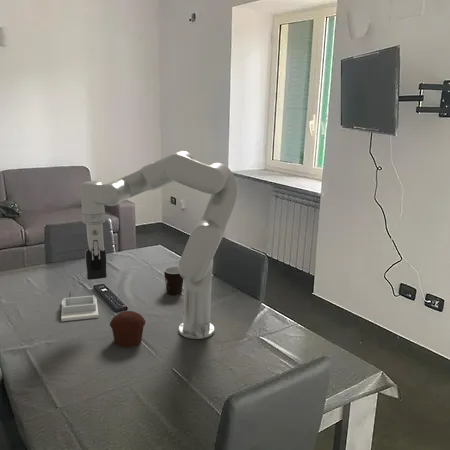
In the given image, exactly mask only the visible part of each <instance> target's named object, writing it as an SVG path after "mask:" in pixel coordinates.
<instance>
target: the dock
mask: <svg viewBox="0 0 450 450" xmlns="http://www.w3.org/2000/svg"><path fill="white" fill-rule="evenodd" d="M69 293H70V295H69V297H63V299H62V300H61V317H60V319H61V320H60V321H61V322H67V321H77V320H89V319H97V318H99V316H100V314H99V310H98V309H99V308H98V300H97V297H96V296H95V295H94V294H93V295H85V296H84V295H83V296H73V290H71V291H70V292H69Z"/></svg>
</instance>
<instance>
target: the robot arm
mask: <svg viewBox="0 0 450 450" xmlns="http://www.w3.org/2000/svg"><path fill="white" fill-rule="evenodd" d="M172 183H178V184H181V185H183V186H186V187H188V188H191V189H193V190H196V191H199V192H202V193H203V194H204V193H205V194H209V195H210V194H211V195H210V197H209V199H208V201H207V204H206V206H205V207H206V208H205V210H204V212H203V214H202V216H201V218H200V219H199V221H198V223H197V224H196V225H195V226H194V228H193V229H192V231H191V232H190V235H189V238H188V240H187V242H186V243H185V244H186V245H185V247H184V250H183V252H182V254H181V256H180V259H179V261H178V266H177V267H178V270H179V273H180V275H181V277H182V278H183V297H182V298H183V300H182V302H183V306H182V307H183V308H182V309H183V311H182V312H183V313H182V314H183V315H182V317H183V318H182V323H181V324H179V326H178V332H179V334H180V335H181V336H183V337H184V338H187V339H193V340H201V339H207V338H209V337H211V336H212V335H213V334H214V333H215V326H214V324H212V323H211V310H212V309H211V304H212V302H211V301H212V298H211V297H212V282H213V281H212V279H213V278H212V277H213V266H214V257H215V255H216V253H217V250H218V247H219V246H220V244H221V243H222V242H221V241H222V239H223V237H224V233H225V231H226V227H227V225H228V222H229V220H230V218H231V215H232V212H233V211H234V208H235V205H236V203H237V199H238V183H237V179H236V177H235V175H234V173H233V172H232V170H231V169H230V168H229V167H228V166H227V165H225V164H223V163H221V162H213V163H210V164H209V165H208V164H206V163H204V162H203V163H202V162H200V161H198V160H196V159H195V158H194V156H193V155H192V153H190V152H189V151H185V150H179V151H177V152H173V153H172V154H170V155H167V156H165V157H163V158H160V159H158V160H156V161H153V162H151V163H148V164H147V165H144V166H143V167H142V168H140V169H139V170H137V171H135V172H132V173H130V174H128V175H125V176H124V177H121V178H118V179H116V180H113V181H111V182H108V183H105V184H103V182H101V181H98V180H87V181H84V182H82V183H81V185H80V202H81V217H82V218H81V219H82V223H83V224H85V225H86V237H87V245H88V247H89V250H90V252H92V259H91V264H92V271H97V270H101V259H100V250H101V251H104V249H105V245H104V244H105V242H104V228H103V223H105V222H106V211H105V206H108V207H115V206H117V205H119V204H120V203H122V202H124V201H126V200H128V199H130V198H133V197H135V196H138V195H140V194H142V193H145V192H147V191H156V190H157V189H161V188H163V187H165V186H167V185H170V184H172ZM93 249H94V251H93ZM98 249H99V250H98ZM93 253H94V254H93Z"/></svg>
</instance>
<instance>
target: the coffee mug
mask: <svg viewBox="0 0 450 450" xmlns="http://www.w3.org/2000/svg"><path fill="white" fill-rule="evenodd" d="M163 273H164V274H163V275H164V282H165V290H166V295H168V296H179V295H181V294H182V293H183V287H184V279H183V278H182V277H181V275H180V273H179V270H178V266H168V267H165V268H164V269H163Z"/></svg>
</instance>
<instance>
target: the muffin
mask: <svg viewBox="0 0 450 450" xmlns="http://www.w3.org/2000/svg"><path fill="white" fill-rule="evenodd" d="M146 323H147V322H146V320H145V318H144V316H142V314H141V313H139V312H136V311H133V310H125V311H121V312H118V314H115V315H114V316H113V317H112V319H111V321H109V327H111V331H112V335H113V340H114V341H113V342H114V344H115V345H116V346H118V347H120V348H132V347H135V346H137V345H139V344H140V343H141V342H142V338H143V332H144V327H145V325H146Z"/></svg>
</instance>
